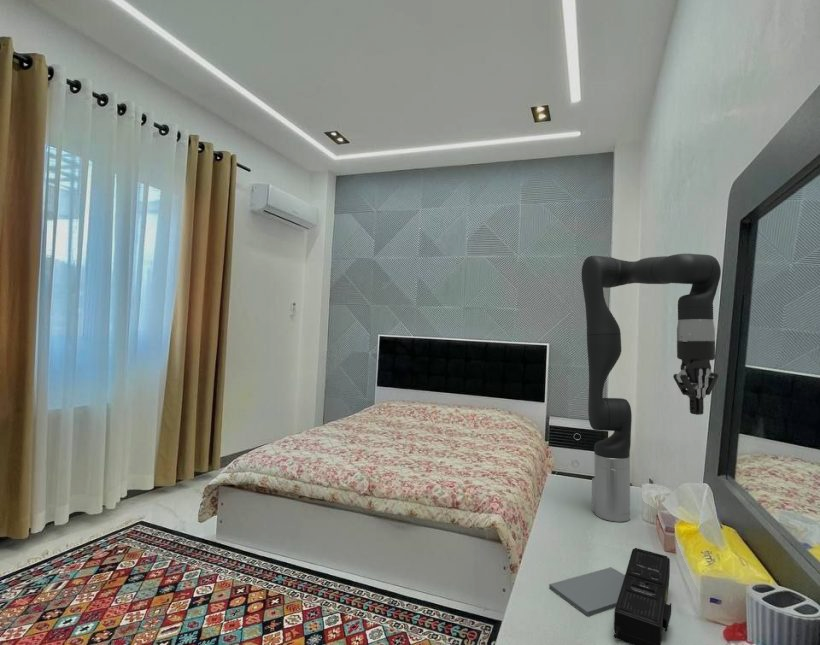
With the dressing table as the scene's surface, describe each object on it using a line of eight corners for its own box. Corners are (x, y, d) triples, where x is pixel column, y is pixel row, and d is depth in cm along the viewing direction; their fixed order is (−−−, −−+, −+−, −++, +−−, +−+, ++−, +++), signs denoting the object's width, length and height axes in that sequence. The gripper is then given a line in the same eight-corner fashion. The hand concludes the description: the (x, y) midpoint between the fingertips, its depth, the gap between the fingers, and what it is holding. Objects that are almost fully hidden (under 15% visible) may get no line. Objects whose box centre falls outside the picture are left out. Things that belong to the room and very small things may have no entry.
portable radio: (675, 556, 90) (666, 629, 69) (675, 586, 90) (666, 668, 69) (632, 545, 94) (611, 610, 73) (631, 573, 94) (610, 647, 73)
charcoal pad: (549, 588, 90) (549, 584, 90) (611, 570, 97) (611, 567, 97) (587, 616, 81) (587, 612, 81) (652, 595, 88) (652, 591, 88)
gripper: (698, 339, 111) (699, 410, 110) (661, 339, 105) (662, 413, 105) (730, 339, 104) (731, 414, 103) (692, 339, 98) (693, 418, 98)
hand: (696, 414), depth 104 cm, fingers closed
